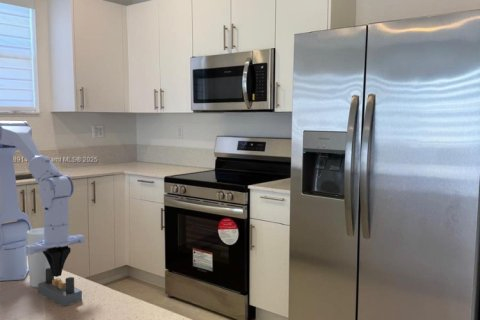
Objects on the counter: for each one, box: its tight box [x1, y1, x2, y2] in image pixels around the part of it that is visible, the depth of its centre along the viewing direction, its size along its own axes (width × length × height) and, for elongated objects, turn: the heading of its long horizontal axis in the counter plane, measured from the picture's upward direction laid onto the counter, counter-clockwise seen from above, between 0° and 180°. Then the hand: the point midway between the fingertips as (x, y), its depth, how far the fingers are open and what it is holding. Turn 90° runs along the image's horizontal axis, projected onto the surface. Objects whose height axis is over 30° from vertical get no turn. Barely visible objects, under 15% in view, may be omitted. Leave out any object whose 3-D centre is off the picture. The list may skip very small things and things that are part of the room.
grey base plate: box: [37, 277, 83, 307], centre depth 108 cm, size 12×5×2 cm, turn 53°
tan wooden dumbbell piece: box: [52, 277, 66, 289], centre depth 108 cm, size 4×2×1 cm, turn 53°
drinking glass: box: [25, 227, 50, 289], centre depth 114 cm, size 7×7×15 cm
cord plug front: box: [64, 276, 75, 294], centre depth 105 cm, size 2×2×4 cm
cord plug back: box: [46, 268, 55, 284], centre depth 110 cm, size 2×2×4 cm
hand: (56, 275), depth 108 cm, fingers closed
